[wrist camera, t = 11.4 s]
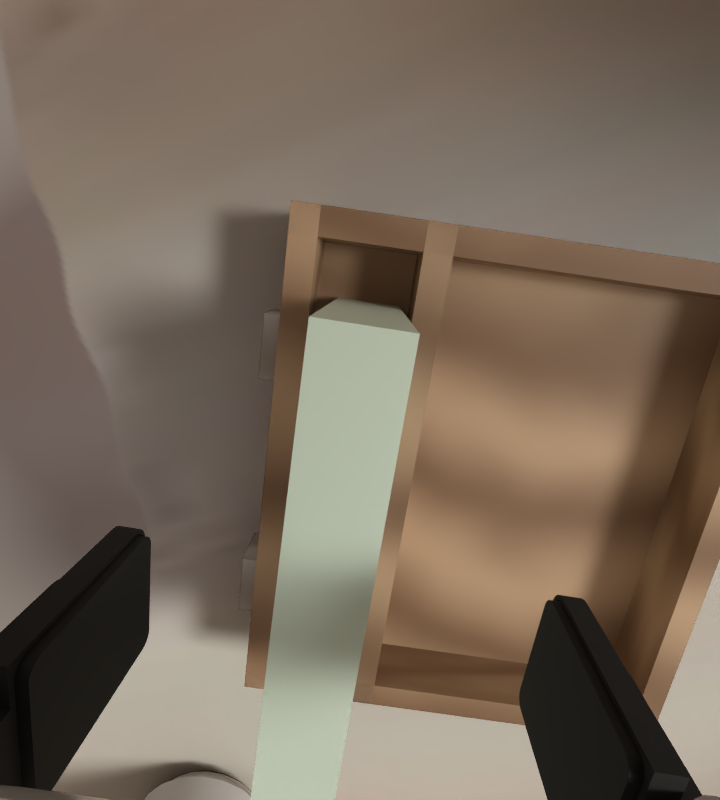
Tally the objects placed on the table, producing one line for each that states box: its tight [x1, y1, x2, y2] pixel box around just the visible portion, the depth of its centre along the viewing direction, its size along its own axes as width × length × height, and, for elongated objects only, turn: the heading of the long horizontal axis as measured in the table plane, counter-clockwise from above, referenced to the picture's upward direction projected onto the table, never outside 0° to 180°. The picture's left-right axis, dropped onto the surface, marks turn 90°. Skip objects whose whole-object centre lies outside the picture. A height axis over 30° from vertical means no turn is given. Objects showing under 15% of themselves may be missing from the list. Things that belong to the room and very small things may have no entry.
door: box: [250, 297, 420, 800], centre depth 16 cm, size 14×2×9 cm, turn 171°
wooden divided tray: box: [239, 200, 720, 725], centre depth 20 cm, size 20×19×4 cm
